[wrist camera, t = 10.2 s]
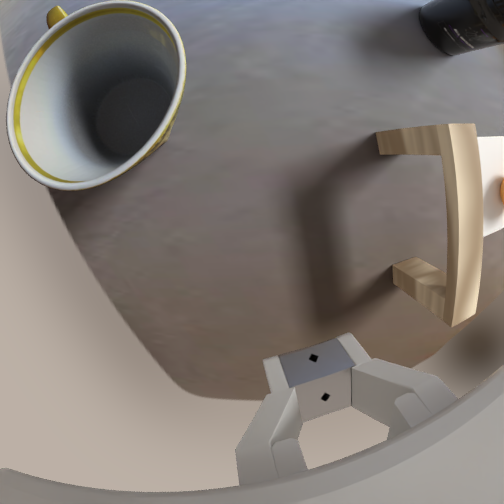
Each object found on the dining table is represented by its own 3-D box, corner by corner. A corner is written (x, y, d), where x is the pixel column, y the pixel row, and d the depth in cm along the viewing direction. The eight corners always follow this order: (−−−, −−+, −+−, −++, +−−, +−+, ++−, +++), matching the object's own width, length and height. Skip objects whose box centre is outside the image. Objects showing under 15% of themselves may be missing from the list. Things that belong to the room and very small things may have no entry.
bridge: (393, 283, 26) (451, 327, 17) (375, 132, 21) (448, 123, 13) (415, 274, 26) (475, 313, 17) (401, 129, 22) (474, 123, 13)
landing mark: (459, 137, 22) (460, 137, 22) (508, 136, 23) (509, 136, 23) (466, 243, 26) (467, 243, 26) (512, 222, 27) (513, 222, 26)
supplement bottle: (430, 54, 19) (513, 28, 8) (408, 2, 17) (477, -38, 6) (466, 59, 20) (540, 44, 8) (446, 11, 18) (512, -15, 6)
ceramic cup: (222, 135, 20) (227, 109, 11) (114, 203, 21) (49, 231, 11) (149, 17, 16) (119, -50, 7) (53, 84, 17) (-17, 56, 7)
